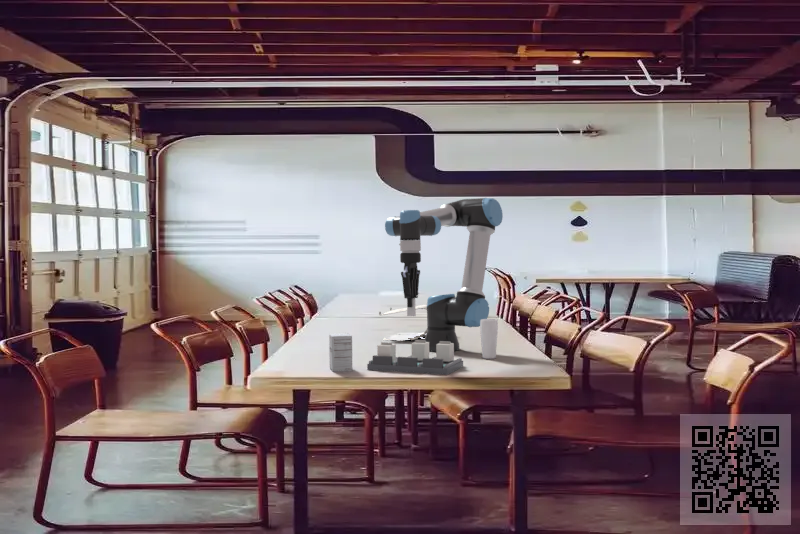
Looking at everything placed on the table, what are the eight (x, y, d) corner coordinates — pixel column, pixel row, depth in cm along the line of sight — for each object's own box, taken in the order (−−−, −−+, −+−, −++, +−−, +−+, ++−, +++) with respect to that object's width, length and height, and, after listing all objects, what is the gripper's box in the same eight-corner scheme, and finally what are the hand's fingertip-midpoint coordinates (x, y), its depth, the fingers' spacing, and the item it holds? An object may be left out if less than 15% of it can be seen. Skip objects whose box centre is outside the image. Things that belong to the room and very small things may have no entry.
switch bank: (387, 361, 284) (386, 348, 284) (463, 366, 273) (463, 352, 272) (367, 369, 267) (367, 355, 267) (447, 374, 256) (447, 360, 256)
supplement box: (329, 368, 271) (328, 333, 270) (349, 367, 272) (349, 332, 272) (332, 372, 263) (331, 336, 263) (352, 371, 265) (352, 335, 265)
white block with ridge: (416, 357, 278) (416, 339, 277) (429, 358, 276) (429, 339, 276) (411, 359, 273) (411, 341, 273) (424, 360, 271) (424, 341, 271)
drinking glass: (490, 360, 286) (490, 320, 285) (476, 358, 291) (476, 319, 290) (501, 358, 291) (501, 319, 290) (487, 356, 295) (487, 318, 295)
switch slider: (440, 358, 274) (440, 340, 274) (453, 359, 272) (453, 340, 272) (436, 361, 270) (436, 342, 269) (449, 361, 268) (449, 342, 267)
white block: (383, 360, 273) (382, 341, 272) (395, 360, 271) (395, 342, 271) (377, 362, 268) (377, 343, 268) (390, 362, 266) (390, 343, 266)
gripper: (408, 251, 284) (409, 313, 285) (393, 252, 272) (394, 317, 273) (426, 251, 281) (427, 314, 282) (412, 252, 269) (413, 318, 270)
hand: (411, 315), depth 277 cm, fingers closed
